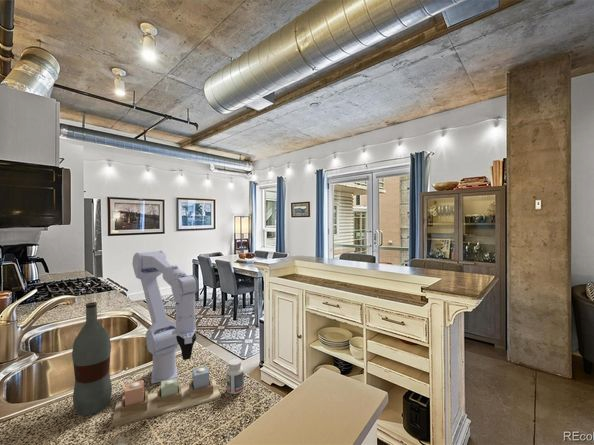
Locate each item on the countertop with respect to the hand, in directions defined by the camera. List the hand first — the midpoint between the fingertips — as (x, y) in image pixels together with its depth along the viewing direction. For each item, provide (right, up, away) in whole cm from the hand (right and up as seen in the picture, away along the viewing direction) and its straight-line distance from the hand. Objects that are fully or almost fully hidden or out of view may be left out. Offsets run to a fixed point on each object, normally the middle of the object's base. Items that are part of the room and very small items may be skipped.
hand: (186, 358), depth 91 cm
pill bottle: (+15, -11, +1) cm, 18 cm away
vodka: (-25, -11, -7) cm, 28 cm away
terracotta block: (-12, -8, -8) cm, 16 cm away
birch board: (-3, -11, -4) cm, 12 cm away
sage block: (-3, -10, -4) cm, 11 cm away
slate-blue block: (+5, -8, -1) cm, 9 cm away
